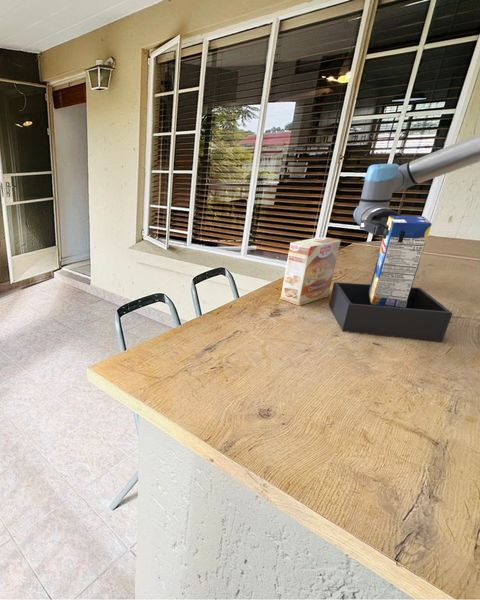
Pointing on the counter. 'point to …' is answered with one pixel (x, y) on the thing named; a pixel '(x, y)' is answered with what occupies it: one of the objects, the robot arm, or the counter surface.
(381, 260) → the beverage box
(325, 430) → the counter surface
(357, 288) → the bin
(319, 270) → the coffeecake box
